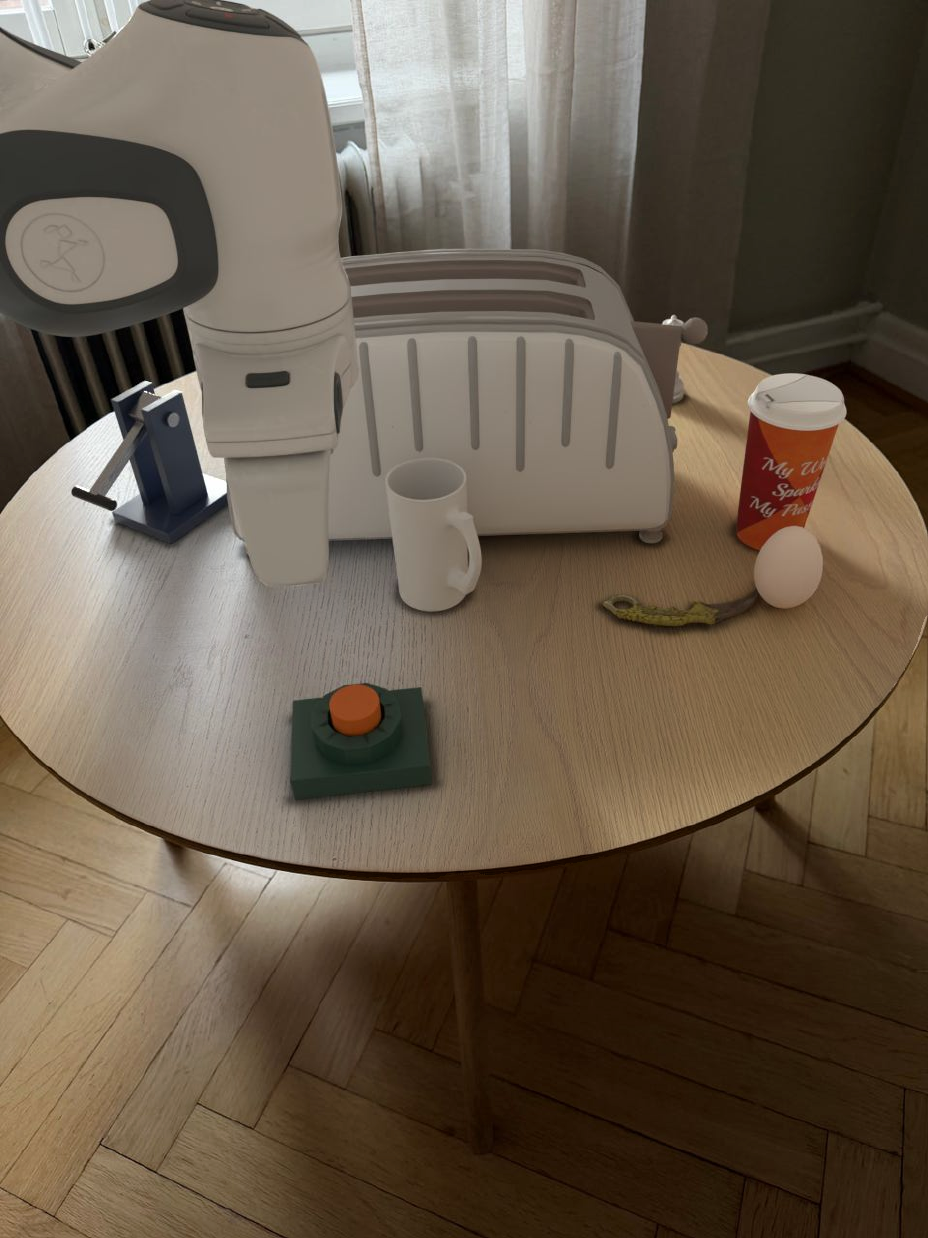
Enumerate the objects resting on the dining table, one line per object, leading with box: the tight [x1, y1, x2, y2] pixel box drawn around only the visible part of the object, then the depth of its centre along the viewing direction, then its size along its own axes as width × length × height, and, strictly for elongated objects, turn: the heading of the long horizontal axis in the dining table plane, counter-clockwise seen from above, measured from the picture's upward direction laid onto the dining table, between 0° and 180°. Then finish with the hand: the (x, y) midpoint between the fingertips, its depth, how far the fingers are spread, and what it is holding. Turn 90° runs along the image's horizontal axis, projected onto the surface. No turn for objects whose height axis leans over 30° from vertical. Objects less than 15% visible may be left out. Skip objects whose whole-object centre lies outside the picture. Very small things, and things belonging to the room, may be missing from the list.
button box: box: [289, 682, 433, 801], centre depth 68 cm, size 10×8×4 cm
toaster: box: [225, 248, 709, 555], centre depth 88 cm, size 21×45×22 cm, turn 91°
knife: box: [602, 587, 760, 627], centre depth 80 cm, size 14×1×5 cm
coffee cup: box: [735, 372, 847, 551], centre depth 84 cm, size 8×8×15 cm
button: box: [329, 684, 381, 736], centre depth 67 cm, size 4×4×2 cm
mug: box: [385, 457, 483, 613], centre depth 79 cm, size 10×7×12 cm, turn 40°
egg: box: [753, 526, 824, 609], centre depth 79 cm, size 6×6×8 cm
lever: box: [70, 392, 162, 512], centre depth 87 cm, size 12×5×2 cm, turn 149°
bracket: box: [110, 380, 228, 545], centre depth 92 cm, size 10×8×13 cm
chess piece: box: [662, 314, 685, 404], centre depth 107 cm, size 4×4×10 cm
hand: (308, 551), depth 60 cm, fingers closed
